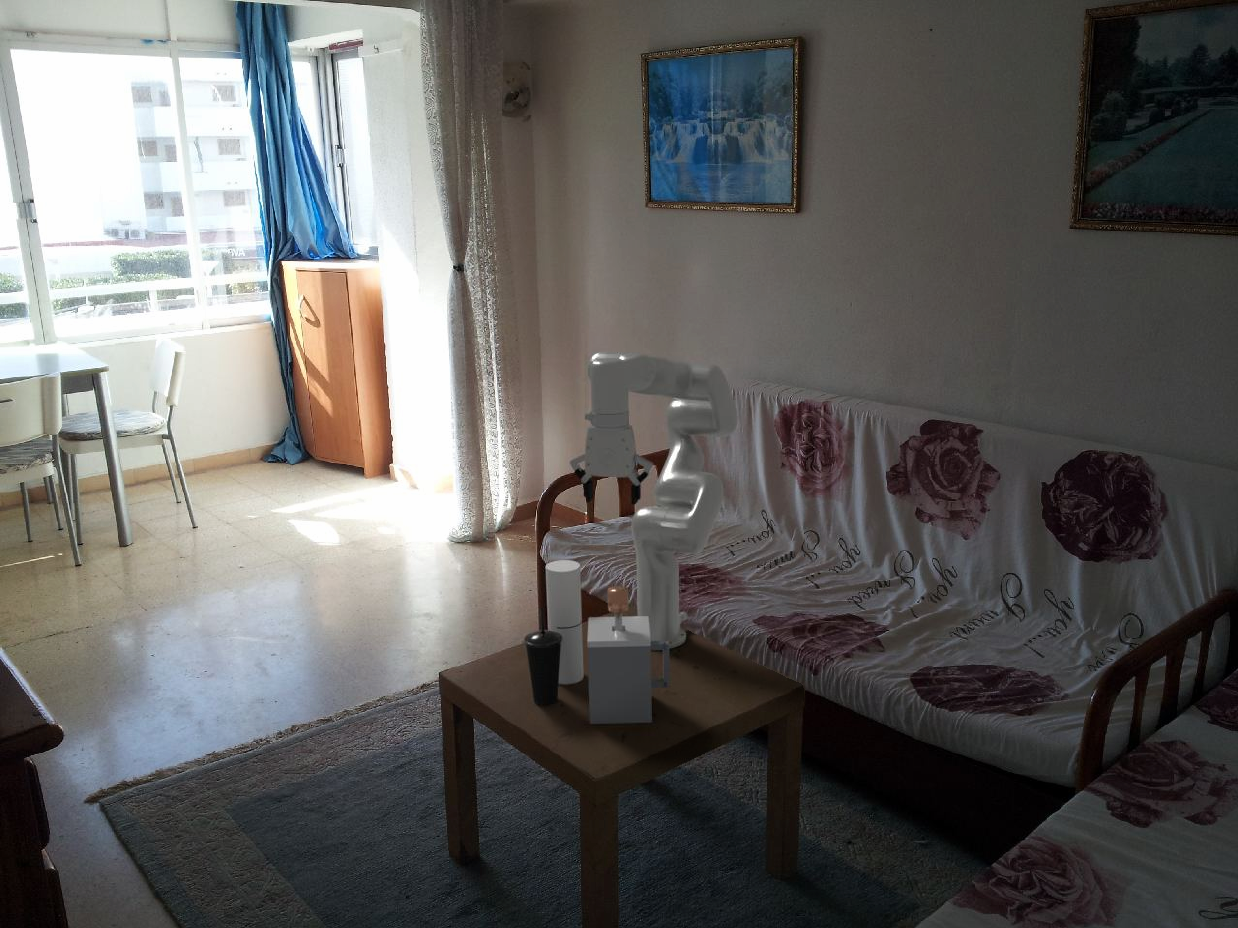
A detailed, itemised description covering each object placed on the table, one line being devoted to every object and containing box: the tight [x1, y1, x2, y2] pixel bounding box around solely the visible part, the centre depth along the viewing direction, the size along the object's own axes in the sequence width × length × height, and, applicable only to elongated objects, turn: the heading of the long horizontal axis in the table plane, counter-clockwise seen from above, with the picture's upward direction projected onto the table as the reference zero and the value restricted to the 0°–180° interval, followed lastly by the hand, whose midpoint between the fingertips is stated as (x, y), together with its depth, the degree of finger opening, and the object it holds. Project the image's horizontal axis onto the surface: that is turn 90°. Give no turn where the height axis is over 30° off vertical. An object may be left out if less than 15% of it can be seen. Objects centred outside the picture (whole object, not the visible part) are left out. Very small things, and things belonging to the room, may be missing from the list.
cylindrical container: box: [545, 559, 585, 685], centre depth 224 cm, size 7×7×25 cm
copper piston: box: [607, 585, 629, 631], centre depth 209 cm, size 9×9×23 cm
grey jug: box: [586, 615, 671, 725], centre depth 211 cm, size 16×12×17 cm
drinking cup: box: [523, 607, 562, 707], centre depth 215 cm, size 8×8×20 cm
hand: (612, 501), depth 219 cm, fingers open, 9 cm apart
